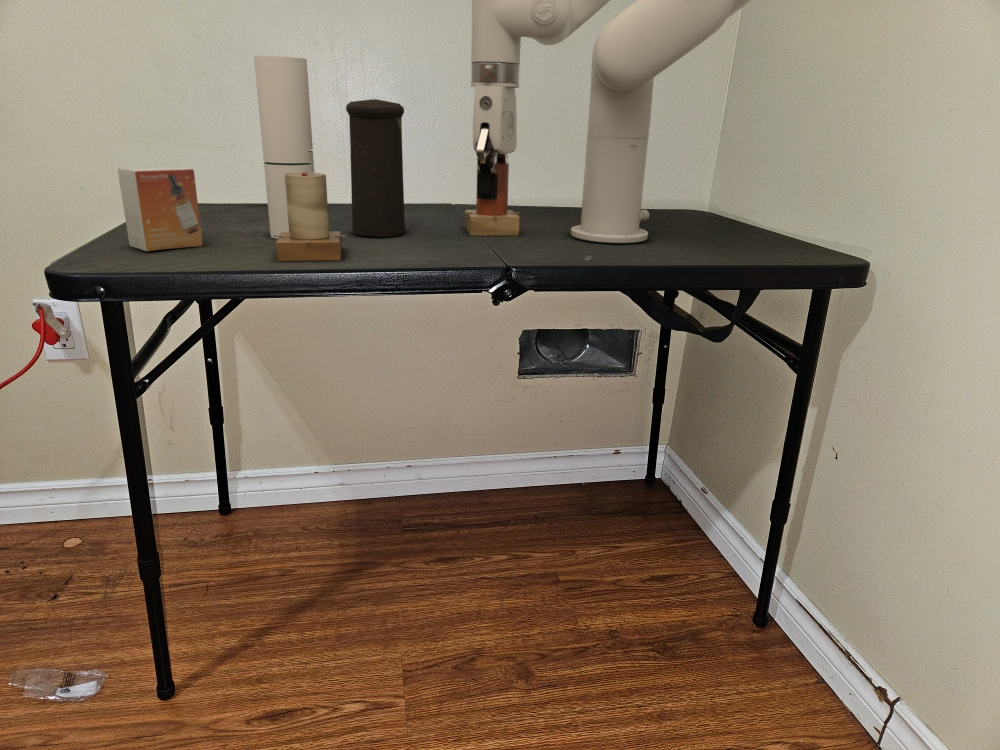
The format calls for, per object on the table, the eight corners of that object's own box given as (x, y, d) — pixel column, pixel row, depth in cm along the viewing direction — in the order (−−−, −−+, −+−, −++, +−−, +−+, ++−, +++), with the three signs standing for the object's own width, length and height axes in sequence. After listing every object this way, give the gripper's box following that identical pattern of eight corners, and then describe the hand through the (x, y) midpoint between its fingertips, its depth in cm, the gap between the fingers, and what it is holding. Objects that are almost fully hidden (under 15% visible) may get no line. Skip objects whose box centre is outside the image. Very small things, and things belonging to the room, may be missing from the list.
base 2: (460, 226, 118) (460, 208, 117) (514, 226, 119) (514, 208, 118) (466, 236, 109) (466, 216, 108) (523, 236, 111) (524, 216, 110)
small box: (145, 253, 90) (132, 170, 86) (128, 246, 94) (115, 167, 90) (204, 246, 96) (194, 168, 92) (186, 240, 99) (176, 165, 95)
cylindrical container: (324, 232, 108) (313, 60, 99) (308, 240, 102) (295, 56, 93) (281, 230, 109) (266, 59, 100) (262, 238, 102) (245, 55, 93)
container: (416, 232, 111) (415, 100, 104) (386, 240, 104) (381, 99, 97) (372, 227, 115) (368, 99, 107) (339, 234, 107) (332, 97, 100)
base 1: (278, 248, 96) (276, 229, 95) (346, 247, 98) (345, 229, 97) (271, 262, 87) (269, 241, 86) (346, 261, 89) (345, 241, 88)
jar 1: (291, 232, 93) (286, 169, 90) (330, 232, 94) (326, 170, 91) (288, 239, 89) (282, 173, 86) (329, 239, 90) (324, 174, 87)
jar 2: (485, 209, 116) (486, 159, 113) (512, 212, 114) (514, 161, 111) (470, 213, 112) (471, 160, 109) (498, 216, 110) (500, 162, 107)
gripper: (504, 74, 97) (500, 204, 104) (531, 80, 112) (526, 192, 119) (454, 73, 99) (453, 201, 105) (487, 79, 114) (485, 190, 121)
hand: (492, 195), depth 112 cm, fingers closed on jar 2, 5 cm apart
